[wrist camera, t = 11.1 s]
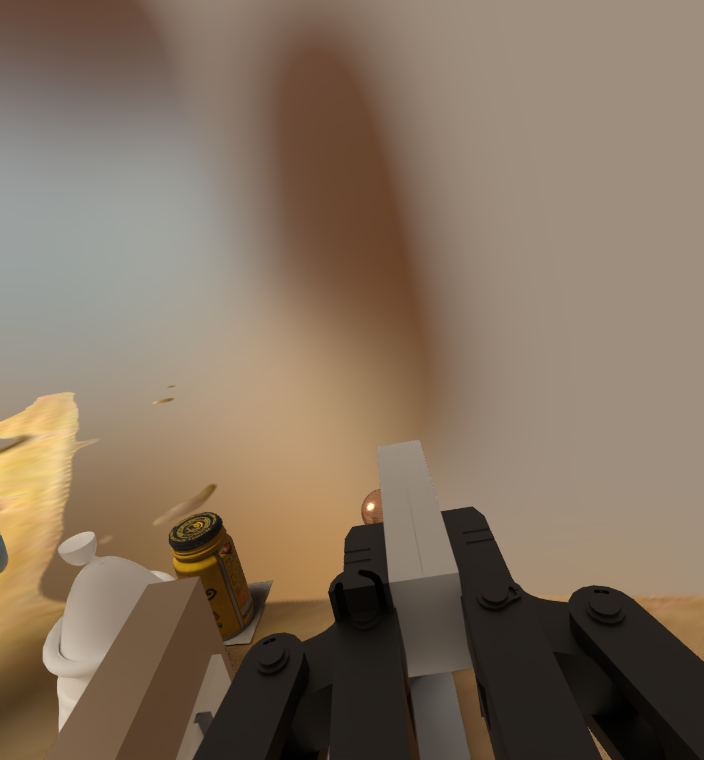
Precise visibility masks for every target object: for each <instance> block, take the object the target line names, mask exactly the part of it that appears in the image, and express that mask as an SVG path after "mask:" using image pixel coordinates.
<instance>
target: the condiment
mask: <svg viewBox="0 0 704 760" xmlns="http://www.w3.org/2000/svg"><path fill="white" fill-rule="evenodd" d="M169 544H170V545H171V548H172V553H173V556H174V559H173V565H174V568H175V571H176V574H177V577H178V579H185V578H191V577H198V576H200V579H201V582H202V584H203V587H204V590H205V593H206V596H207V598H208V601H209V604H210V607H211V610H212V612H213V615H214V618H215V621H216V623H217V626H218V629H219V632H220V635H221V637H222V640H223V643H224V645H233V644H243V643H250V641H251V639H252V636H253V634H254V631H255V629H256V626H257V624H258V621H259V619H260V615H261V613H262V610H263V607H264V603H265V601H266V599H267V596H268V594H269V591H270V587H271V585H272V582H273V581H267V582H261V583H253V584H247V582H246V579H245V576H244V573H243V570H242V567H241V564H240V561H239V558H238V555H237V552H236V549H235V546H234V543H233V540H232V538H231V536H229V535H228V534H227V533H226V529H225V528H224V526H223V525H222V519H221V518H220V517H219V516H218V515H217V514H214V513H210V512H208V513H207V512H205V513H200V514H196V515H193V516H190V517H188V518H187V519H184V520H183V521H181V522H179V523H178V524H177V525H176V526H175V527H174V528H173V529H172V531H171V532H170V534H169ZM255 603H256V604H255Z"/></svg>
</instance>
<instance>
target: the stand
mask: <svg viewBox="0 0 704 760" xmlns="http://www.w3.org/2000/svg"><path fill="white" fill-rule="evenodd" d="M234 677H235V674H234V671H233V668H232V665H231V663H230V660H229V657H228V654H227V651H226V649H225V646H224V643H223V640H222V637H221V635H220V632H219V629H218V626H217V623H216V621H215V618H214V615H213V612H212V610H211V607H210V604H209V601H208V598H207V596H206V593H205V590H204V587H203V584H202V582H201V579H200V576H198V577H191V578H185V579H179V580H173V581H166V582H160V583H154V584H148V585H147V587H146V588H145V590H144V592H143V593H142V595H141V597H140V598H139V600H138V602H137V603H136V605H135V607H134V608H133V610H132V612H131V613H130V615H129V617H128V618H127V620H126V622H125V623H124V625H123V627H122V628H121V630H120V632H119V634H118V635H117V637H116V639H115V640H114V642H113V644H112V645H111V647H110V649H109V650H108V652H107V654H106V655H105V657H104V659H103V660H102V662H101V664H100V665H99V667H98V669H97V670H96V672H95V674H94V675H93V677H92V679H91V680H90V682H89V684H88V685H87V687H86V689H85V690H84V692H83V694H82V695H81V697H80V699H79V700H78V702H77V704H76V705H75V707H74V709H73V710H72V712H71V714H70V715H69V717H68V719H67V720H66V722H65V724H64V725H63V727H62V729H61V730H60V732H59V734H58V736H57V737H56V739H55V741H54V742H53V744H52V746H51V747H50V749H49V751H48V752H47V754H46V756H45V757H44V759H43V760H192V759H193V757H194V755H195V753H196V751H197V750H198V748H199V746H200V744H201V742H202V740H203V738H204V736H205V734H206V732H207V730H208V728H209V726H210V724H211V722H212V720H213V718H214V716H215V714H216V712H217V710H218V708H219V706H220V704H221V703H222V701H223V699H224V697H225V695H226V693H227V691H228V689H229V687H230V685H231V683H232V681H233V679H234ZM410 689H411V694H412V699H413V706H414V714H415V722H416V730H417V738H418V746H419V755H420V760H471V757H470V753H469V748H468V744H467V739H466V734H465V730H464V725H463V720H462V716H461V711H460V706H459V702H458V697H457V693H456V688H455V683H454V679H453V674H452V672H444V673H437V674H430V675H424V676H423V677H421V678H417V679H415V680H414V682H413V683H412V685H411V686H410Z"/></svg>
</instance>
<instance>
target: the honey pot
mask: <svg viewBox="0 0 704 760" xmlns="http://www.w3.org/2000/svg"><path fill="white" fill-rule="evenodd" d="M95 551H96V537H95V534H94V533H93V532H83V533H80V534H77V535H75V536H73V537H71V538H69V539H67V540H66V541H65V542H63V543H62V544H61V545H60V546H59V548H58V552H59V554H60V556H61V557H62V558H63V559H64V560H65V561H66V562H67V563H69V564H72V565H76V566H81V565H84V564H87V563H88V564H87V565H86V566H85V567H84V568H83V569H82V570H81V571H80V573H79V574H78V576H77V577H76V579H75V581H74V583H73V585H72V588H71V590H70V593H69V596H68V599H67V603H66V606H65V611H64V615H63V616H62V617H61V618H60V619H59V620H58V621H57V622H56V624H55V625H54V627H53V628H52V629H51V631H50V632H49V634H48V637H47V639H46V641H45V644H44V647H43V662H44V664H45V666H46V667H47V669H48V671H49V672H51V673H53V674H55V675H57V676H59V677H58V680H57V695H58V698H59V713H60V714H59V732H60V730H61V729H62V727H63V725H64V724H65V722H66V720H67V719H68V717H69V715H70V714H71V712H72V710H73V709H74V707H75V705H76V704H77V702H78V700H79V699H80V697H81V695H82V694H83V692H84V690H85V689H86V687H87V685H88V684H89V682H90V680H91V679H92V677H93V675H94V674H95V672H96V670H97V669H98V667H99V665H100V664H101V662H102V660H103V659H104V657H105V655H106V654H107V652H108V650H109V649H110V647H111V645H112V644H113V642H114V640H115V639H116V637H117V635H118V634H119V632H120V630H121V628H122V627H123V625H124V623H125V622H126V620H127V618H128V617H129V615H130V613H131V612H132V610H133V608H134V607H135V605H136V603H137V602H138V600H139V598H140V597H141V595H142V593H143V592H144V590H145V588H146V587H147V585H148V584H154V583H160V582H166V581H173V580H175V579H174V578H173V577H172V576H170V575H169V574H167V573H164V572H160V571H149V570H147V569H146V568H144V567H143V566H141V565H139V564H137V563H135V562H133V561H130V560H128V559H124V558H120V557H115V556H105V557H100V558H99V557H97V556H96V555H94V554H95ZM60 642H61V645H60ZM59 645H60V653H59Z"/></svg>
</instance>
